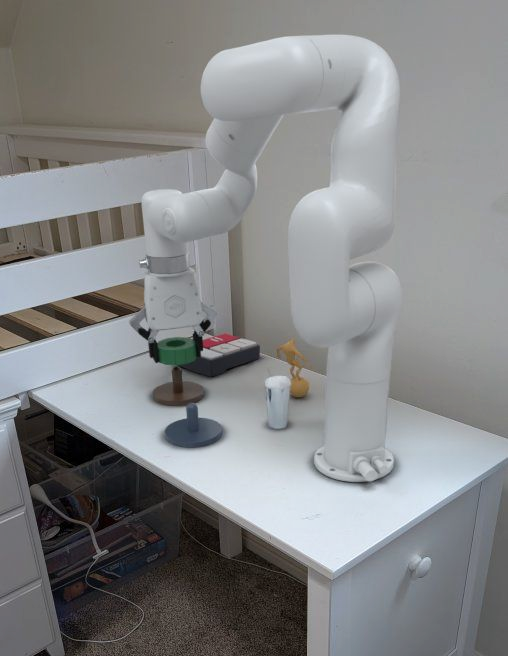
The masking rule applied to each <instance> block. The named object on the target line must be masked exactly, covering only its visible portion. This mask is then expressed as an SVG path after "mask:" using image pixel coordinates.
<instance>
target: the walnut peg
mask: <svg viewBox="0 0 508 656" xmlns="http://www.w3.org/2000/svg"><path fill="white" fill-rule="evenodd" d="M204 396H205V388H204V386H203V385H202V384H200V383H197V382H193V381H186V380H184V379H183V370H182V367H180V366H178V365H174V367H172V368H171V381H170V382H166V383H161V384H160V385H158V386H156V387H155V388H153V390H152V399H153V401H155V402H156V403H157V404H160V405H163V406H168V407H169V406H171V407H180V406H187V405H188V404H189V403H195V404H196V403H197V402H200V401H201V400H202V399H203V398H204Z"/></svg>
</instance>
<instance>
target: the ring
mask: <svg viewBox="0 0 508 656" xmlns="http://www.w3.org/2000/svg"><path fill="white" fill-rule="evenodd" d="M157 344H158V354H159V362H158V364H162V365H165V366H178V365H182V364H187V363H190V362H193V361H194V360H195V359H196V358H197V352H196V342H195V341H194V339H193V338H190V337H186V336H185V337H183V336H175V337H174V336H173V337H166V338H164V339H161V340H158V341H157Z"/></svg>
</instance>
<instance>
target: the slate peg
mask: <svg viewBox="0 0 508 656" xmlns="http://www.w3.org/2000/svg"><path fill="white" fill-rule="evenodd" d="M185 411H186V418H181V419H178V420H175V421H173V422H171V423H169V424H168V425H166V427H165V430H164V438H165V440H166V441H167V442H168V443H169V444H171V445H174V446H176V447H180V448H200V447H206V446H209V445H212V444H214V443H216V442H217V441H220V439H221V438H222V436H223V427H222V425H221V423H220V422H219V421H216V420H214V419H211V418H207V417H199V407H198V404H197V403H196V402H195V403H189V404H188V405H186V407H185Z"/></svg>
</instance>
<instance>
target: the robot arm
mask: <svg viewBox="0 0 508 656" xmlns="http://www.w3.org/2000/svg"><path fill="white" fill-rule="evenodd" d="M200 97H201V101H202V104H203V107H204V109H205V110H206V111H207V113H208V115H210V116H211V117H212V118H213V120H212V121H211V123H210V126H209V127H208V129H207V131H206V134H205V137H204V138H205V141H204V142H205V146H206V149H207V151H208V154H209V156H211V158H212V159H213V160H214V161H215V162H216V163H217V164H219V165H220V166H221V167H223V169H224V172H222V175H221V176H220V179H219V180H218V182H217V183H216V184H215V186H214V187H210V188H205V189H201V190H200V189H199V190H195V191H190V192H185V193H182V191H180V190H177V189H171V188H161V189H153V190H149V191H147V192H145V193H143V195H142V196H141V202H140V203H141V213H142V222H143V223H142V224H143V233H144V243H145V256H144V258H143V259H139V260H138V264H139V269H146V270H147V271H146V272H144V281H143V304H144V305H143V307H142V308H141V309H140V310H139V311H138V312H137V313H136V314H135V315H134V316H132V317H131V318H130V319H129V321H128V323H129V325H130V326H131V327H132V329H133V330H134V331H135V332H136V333H137V334H138V335H139V336H140V337H141V338H143V339H145V341H147V345H148V346H147V347H148V353H149V358H150V359H152V360H153V361H154V363H155V364H159V354H158V344H157V343H158V341H157V340H156V338H157V335H158V333H159V332H161V331H169V330H177V329H184V328H192V329H193V333H192V339H194V341H195V342H196V352H197V357H201V351H203V340H204V339H203V337H204V336H205V333H206V331H208V329H209V328H210V327H211V325H212V322H213V321H214V320H215V319H216V317H217V315H218V313H217V312H218V311H216V310H215V309H213V308H212V307H211V306H209V305H207V304H206V303H204V302H203V301H201V294H200V288H199V282H198V277H197V273H196V271H195V269H194V268H192V267H191V264H190V248H189V242H194V241H198V240H202V239H205V238H209V237H214V236H217V235H218V236H219V235H222V234H225V233H228V232H230V231H231V230H233V229H234V228H235V227H236V226H237V225H238V224H239V222H241V220H242V219H243V217H244V216H245V214H246V212H247V211H248V210H249V208H250V206H251V204H252V202H253V201H254V198H255V196H256V192H257V186H258V169H257V165H256V162H257V161H258V159H259V158H260V156H261V154H262V152H263V151H264V149H265V147H266V145H268V143H269V141H270V139H271V137H272V136H273V134H274V133H275V131H276V129H277V128H278V126H279V125H280V122H281V121H282V119H283V117H284V116H287V115H288V116H289V115H296V114H303V113H311V112H321V111H328V110H338V111H339V112H340V118H339V119H338V122H337V125H336V127H335V130H334V132H333V136H332V141H331V145H330V146H331V147H330V183H329V186H327V187H323V188H319V189H315V190H313V191H311V192H308V194H306V195H304V196H303V197H302V198H301V199H300V200H299V201H298V203H297V204H296V205H295V207H294V209H293V211H292V213H291V216H290V219H289V223H288V228H287V263H288V288H289V309H290V315H291V320H292V323H293V327H294V329H295V331H296V333H297V334H298V335H299V337H300V338H301V339H302V341H304V342H305V343H306V344H308V345H309V346H311V347H315V348H328V351H327V355H326V370H325V399H324V400H325V401H324V402H325V405H324V406H325V407H324V441H323V445H322V446H321V447H319V448H318V449H316V451H315V453H314V455H313V456H314V457H313V458H314V459H313V464H314V466H315V469H317V471H319V472H320V473H321V474H323V475H324V476H327V477H329V478H331V479H334V480H337V481H342V482H350V483H362V482H368V483H369V482H370V483H371V482H373V481H374V482H375V480H378V479H382V478H383V477H385V476H387V475H388V474H389V473H391V471H392V470H394V469H393V468H394V465H395V458H394V455H393V454H392V452H391V451H390V450H389V449H387V448H386V439H387V424H388V411H389V398H390V385H391V373H392V361H393V359H392V358H393V349H394V343H395V337H396V331H397V328H398V324H399V320H400V317H401V312H402V307H403V288H402V284H401V282H400V279H399V277H398V275H397V274H396V273H395V271H393V269H392V268H391V267H389V266H387V265H386V264H384V263H382V262H377V261H361V262H356V263H352V264H350V260H353V259H357V258H360V257H362V256H366V255H368V254H371V253H373V252H376V251H378V250H380V249H382V248H384V246H385V245H387V244H388V243H389V242H390V240H391V238H392V236H393V233H394V228H395V222H396V221H395V220H396V197H397V195H396V193H397V190H396V188H397V144H398V143H397V142H398V140H397V139H398V128H399V118H400V109H401V85H400V78H399V73H398V70H397V68H396V64H394V61H393V60H392V58H391V57H390V55H389V54H388V52H387V51H385V49H383V48H382V47H381V46H380V45H378V43H376V42H374V41H372V40H370V39H368V38H365V37H362V36H357V35H353V34H317V35H312V34H311V35H309V34H308V35H289V36H288V35H287V36H281V37H280V36H279V37H276V38H271V39H268V40H263V41H259V42H255V43H251V44H247V45H242V46H238V47H233V48H228V49H227V48H226V49H224V50H221V51H219V52H218V53H216V54H215V55H214V56H213V57H211V58H210V60H209V61H208V63H207V64H206V66H205V68H204V70H203V72H202V76H201V80H200ZM203 312H204V313H205V314H206V315H205V317H204V318H203ZM144 319H145V322H146V323H147V326H148V329H146V328H144V327H143V326H142V325H141V324H140V323H141V322H142V321H143V320H144Z"/></svg>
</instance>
